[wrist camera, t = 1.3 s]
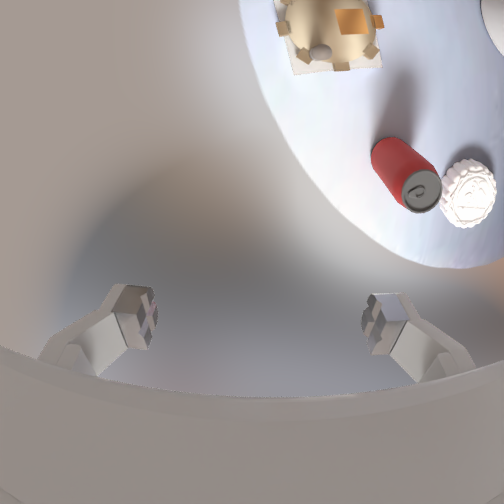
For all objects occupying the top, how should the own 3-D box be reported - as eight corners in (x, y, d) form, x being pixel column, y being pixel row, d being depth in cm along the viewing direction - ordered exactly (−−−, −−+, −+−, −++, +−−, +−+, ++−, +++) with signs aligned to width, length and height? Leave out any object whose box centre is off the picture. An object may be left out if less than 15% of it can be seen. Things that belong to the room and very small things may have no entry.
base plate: (359, -16, 21) (361, -18, 20) (380, 67, 28) (382, 67, 28) (270, -10, 24) (269, -11, 23) (293, 75, 31) (294, 75, 30)
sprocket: (366, -19, 20) (385, -35, 14) (387, 68, 27) (412, 71, 21) (264, -12, 23) (260, -30, 16) (289, 76, 30) (292, 79, 24)
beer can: (365, 140, 35) (394, 171, 26) (406, 132, 34) (445, 161, 24) (373, 180, 39) (399, 222, 30) (411, 172, 37) (446, 211, 28)
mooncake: (493, 162, 33) (505, 170, 30) (478, 220, 40) (487, 231, 37) (444, 153, 34) (454, 162, 32) (431, 218, 42) (439, 230, 39)
